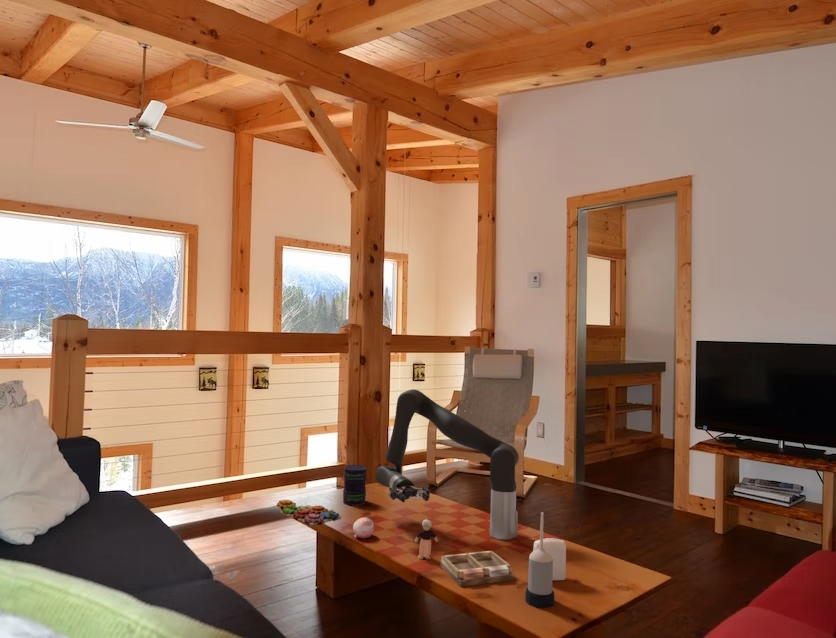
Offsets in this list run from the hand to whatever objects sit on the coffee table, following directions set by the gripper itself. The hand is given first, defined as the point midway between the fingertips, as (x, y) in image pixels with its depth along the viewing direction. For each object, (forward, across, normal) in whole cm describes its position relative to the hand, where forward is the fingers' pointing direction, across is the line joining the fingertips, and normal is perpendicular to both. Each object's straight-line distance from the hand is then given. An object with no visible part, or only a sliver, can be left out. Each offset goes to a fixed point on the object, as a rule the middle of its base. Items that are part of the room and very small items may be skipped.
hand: (415, 498), depth 215 cm
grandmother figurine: (+12, 0, +16) cm, 20 cm away
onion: (-14, -14, +17) cm, 26 cm away
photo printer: (+37, +31, +16) cm, 51 cm away
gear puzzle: (-47, -30, +18) cm, 59 cm away
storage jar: (-56, -8, +17) cm, 60 cm away
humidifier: (+50, +20, +16) cm, 57 cm away
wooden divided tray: (+27, +11, +16) cm, 34 cm away
